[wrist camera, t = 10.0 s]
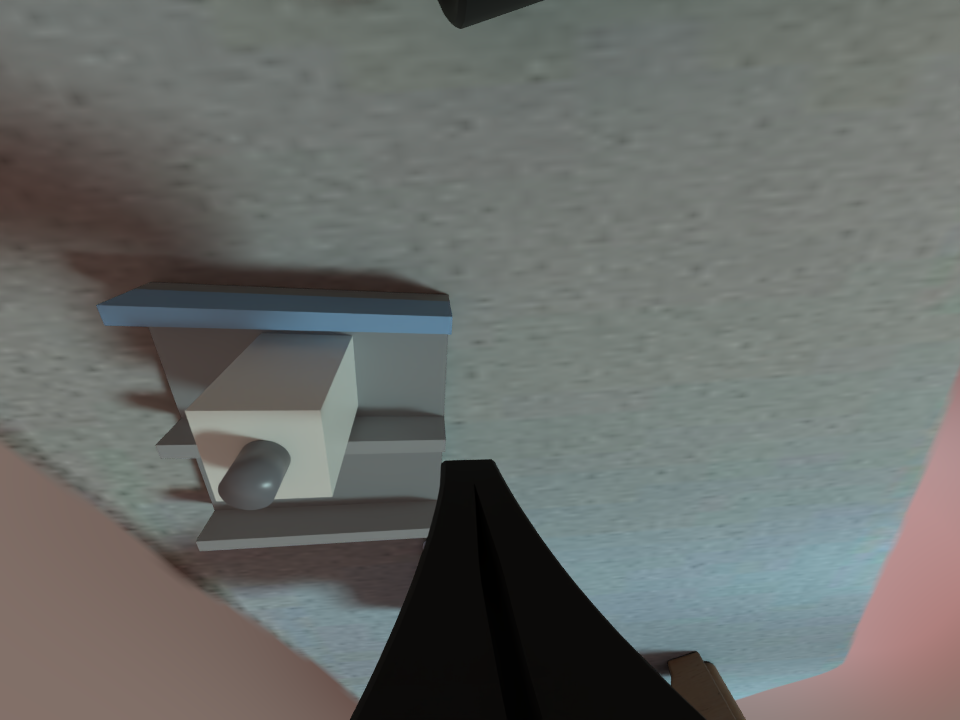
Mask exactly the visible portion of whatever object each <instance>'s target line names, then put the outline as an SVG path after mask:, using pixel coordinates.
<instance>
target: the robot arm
mask: <svg viewBox="0 0 960 720" xmlns="http://www.w3.org/2000/svg"><path fill="white" fill-rule="evenodd" d="M350 720H707V719H706V718H704V717H703V716H702V715H701V714H700V713H699V712H698V711H697V710H696V709H695V708H694V707H693V706H692V705H691V704H690V703H689V702H688V701H686V700H685V699H684V698H683V697H682V696H681V695H680V694H679V693H678V692H677V691H676V690H675V689H674V688H673V687H672V686H671V685H670V684H668V683H667V681H666V680H665V679H664V678H663V677H662V676H661V675H660V674H659V673H658V672H657V671H656V670H655V669H654V668H653V667H652V666H651V665H650V664H649V663H648V662H647V661H646V660H645V659H644V658H643V657H642V656H641V655H640V654H639V653H638V652H637V651H636V650H635V649H634V648H633V647H632V646H631V645H630V644H629V643H628V642H627V641H626V640H625V639H624V638H623V637H622V636H621V635H620V634H619V632H618V631H617V630H616V629H615V628H614V627H613V626H612V625H611V624H610V623H609V621H608V620H607V619H606V618H605V617H604V616H603V615H602V614H601V613H600V611H599V610H598V609H597V608H596V607H595V606H594V605H593V603H592V602H591V601H590V600H589V599H588V598H587V596H586V595H585V594H584V593H583V592H582V591H581V589H580V588H579V587H578V586H577V585H576V583H575V582H574V581H573V580H572V578H571V577H570V576H569V575H568V573H567V572H566V571H565V569H564V568H563V567H562V566H561V564H560V563H559V562H558V560H557V559H556V558H555V556H554V555H553V554H552V552H551V551H550V550H549V548H548V547H547V546H546V544H545V543H544V541H543V540H542V539H541V537H540V536H539V534H538V533H537V531H536V530H535V528H534V527H533V525H532V524H531V522H530V521H529V519H528V518H527V516H526V515H525V513H524V512H523V510H522V509H521V507H520V506H519V504H518V503H517V501H516V499H515V498H514V496H513V494H512V493H511V491H510V489H509V488H508V486H507V484H506V482H505V481H504V479H503V477H502V475H501V473H500V471H499V469H498V467H497V466H496V463H495V462H494V461H493V460H492V459H487V460H452V461H444V462H443V463H442V464H441V471H440V487H439V493H438V498H437V503H436V507H435V511H434V515H433V518H432V522H431V526H430V530H429V533H428V537H427V540H426V541H425V542H424V543H423V552H422V555H421V558H420V561H419V563H418V566H417V569H416V572H415V575H414V578H413V580H412V583H411V586H410V588H409V591H408V593H407V596H406V598H405V601H404V603H403V606H402V608H401V611H400V613H399V616H398V618H397V620H396V623H395V625H394V627H393V630H392V632H391V634H390V636H389V639H388V641H387V643H386V645H385V648H384V650H383V652H382V654H381V657H380V659H379V661H378V663H377V665H376V667H375V670H374V672H373V674H372V676H371V678H370V680H369V682H368V684H367V686H366V689H365V691H364V693H363V695H362V697H361V699H360V701H359V703H358V705H357V707H356V709H355V711H354V712H353V714H352V716H351V719H350Z"/></svg>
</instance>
